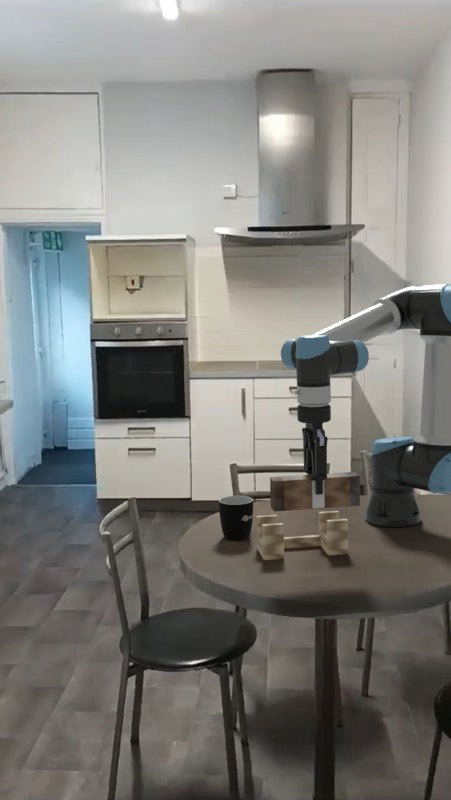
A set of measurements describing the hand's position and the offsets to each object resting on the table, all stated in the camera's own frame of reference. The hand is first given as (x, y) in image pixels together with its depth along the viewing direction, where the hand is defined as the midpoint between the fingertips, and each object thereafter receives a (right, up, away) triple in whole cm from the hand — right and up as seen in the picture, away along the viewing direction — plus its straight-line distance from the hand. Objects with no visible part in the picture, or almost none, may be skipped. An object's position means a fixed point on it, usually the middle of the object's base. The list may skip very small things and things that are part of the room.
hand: (315, 504), depth 185 cm
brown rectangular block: (0, 0, 0) cm, 0 cm away
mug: (-17, -12, +29) cm, 35 cm away
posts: (-2, -13, +15) cm, 20 cm away
